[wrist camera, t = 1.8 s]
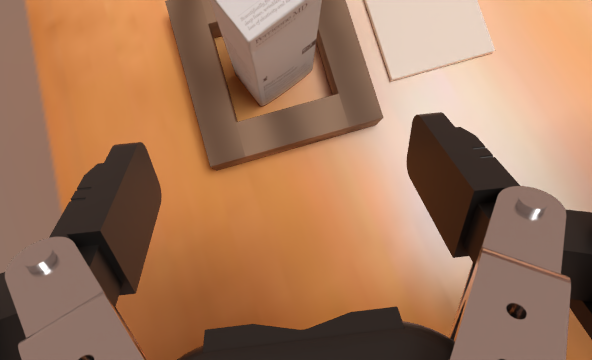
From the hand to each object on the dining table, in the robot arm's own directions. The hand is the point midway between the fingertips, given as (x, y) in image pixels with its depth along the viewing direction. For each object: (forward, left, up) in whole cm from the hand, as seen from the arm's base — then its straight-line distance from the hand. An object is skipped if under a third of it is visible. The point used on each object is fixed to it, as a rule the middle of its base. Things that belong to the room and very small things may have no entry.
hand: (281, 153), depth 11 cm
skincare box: (-2, -11, -22) cm, 25 cm away
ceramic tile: (-17, -12, -22) cm, 30 cm away
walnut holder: (-2, -11, -22) cm, 25 cm away
